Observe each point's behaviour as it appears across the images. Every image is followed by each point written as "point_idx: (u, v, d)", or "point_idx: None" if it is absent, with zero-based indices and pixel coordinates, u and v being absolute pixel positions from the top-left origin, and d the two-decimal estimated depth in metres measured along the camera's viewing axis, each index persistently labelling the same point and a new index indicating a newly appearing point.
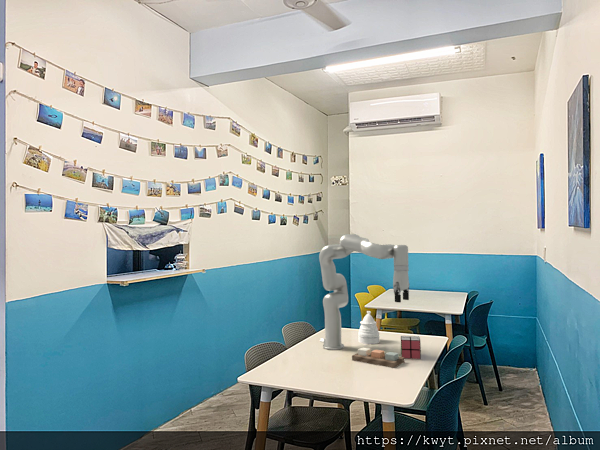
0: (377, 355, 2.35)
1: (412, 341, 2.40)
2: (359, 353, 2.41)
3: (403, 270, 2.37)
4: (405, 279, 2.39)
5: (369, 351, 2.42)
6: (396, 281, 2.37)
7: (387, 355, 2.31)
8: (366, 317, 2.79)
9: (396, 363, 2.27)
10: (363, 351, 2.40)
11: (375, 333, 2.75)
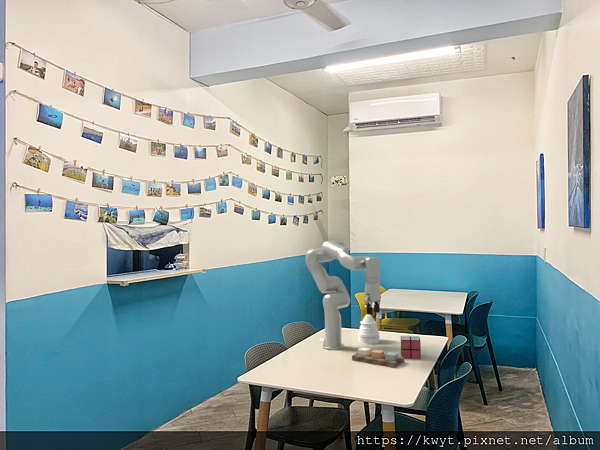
0: (377, 355, 2.35)
1: (412, 341, 2.40)
2: (359, 353, 2.41)
3: (374, 282, 2.41)
4: (376, 290, 2.43)
5: (369, 351, 2.42)
6: (367, 293, 2.41)
7: (387, 355, 2.31)
8: (366, 317, 2.79)
9: (396, 363, 2.27)
10: (363, 351, 2.40)
11: (375, 333, 2.75)
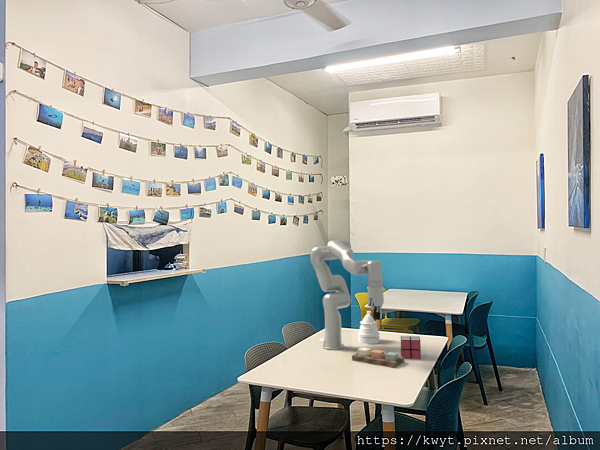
0: (377, 355, 2.35)
1: (412, 341, 2.40)
2: (359, 353, 2.41)
3: (377, 286, 2.36)
4: (379, 295, 2.38)
5: (369, 351, 2.42)
6: (370, 297, 2.36)
7: (387, 355, 2.31)
8: (366, 317, 2.79)
9: (396, 363, 2.27)
10: (363, 351, 2.40)
11: (375, 333, 2.75)
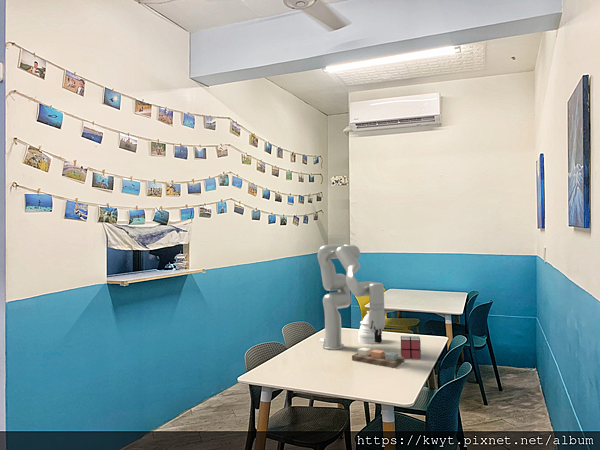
0: (377, 355, 2.35)
1: (412, 341, 2.40)
2: (359, 353, 2.41)
3: (378, 309, 2.34)
4: (381, 318, 2.36)
5: (369, 351, 2.42)
6: (372, 320, 2.34)
7: (387, 355, 2.31)
8: (366, 317, 2.79)
9: (396, 363, 2.27)
10: (363, 351, 2.40)
11: None
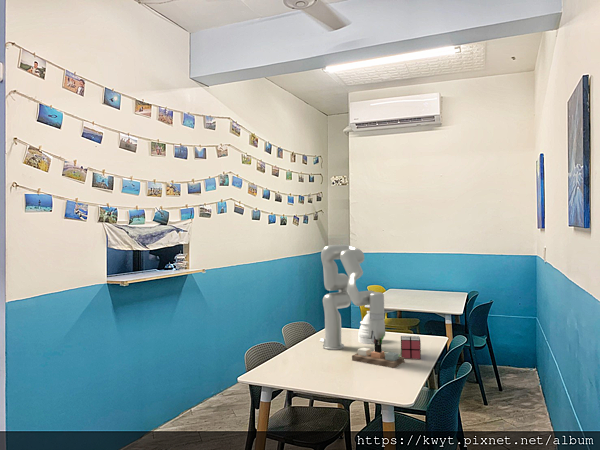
0: (377, 355, 2.35)
1: (412, 341, 2.40)
2: (359, 353, 2.41)
3: (379, 319, 2.34)
4: (381, 327, 2.36)
5: (369, 351, 2.42)
6: (372, 330, 2.34)
7: (387, 355, 2.31)
8: (366, 317, 2.79)
9: (396, 363, 2.27)
10: (363, 351, 2.40)
11: None
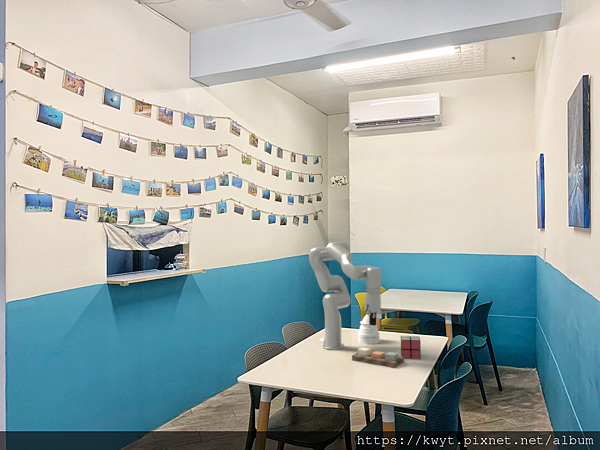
0: (377, 357, 2.35)
1: (412, 341, 2.40)
2: (359, 353, 2.41)
3: (375, 293, 2.39)
4: (377, 301, 2.41)
5: (369, 351, 2.42)
6: (367, 303, 2.40)
7: (387, 355, 2.31)
8: (366, 317, 2.79)
9: (396, 363, 2.27)
10: (363, 351, 2.40)
11: (375, 333, 2.75)
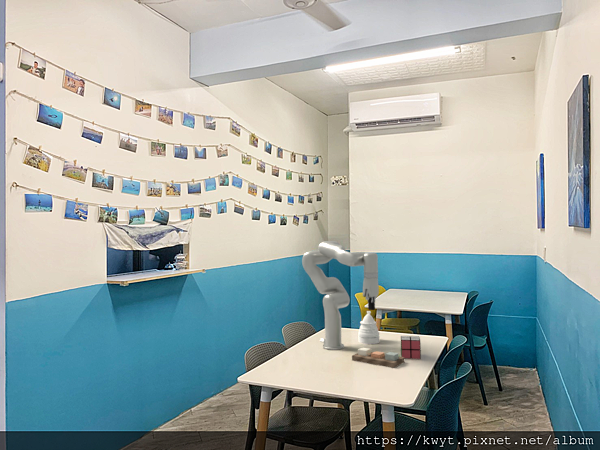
0: (377, 357, 2.35)
1: (412, 341, 2.40)
2: (359, 353, 2.41)
3: (372, 277, 2.44)
4: (374, 286, 2.46)
5: (369, 351, 2.42)
6: (365, 288, 2.44)
7: (387, 355, 2.31)
8: (366, 317, 2.79)
9: (396, 363, 2.27)
10: (363, 351, 2.40)
11: (375, 333, 2.75)
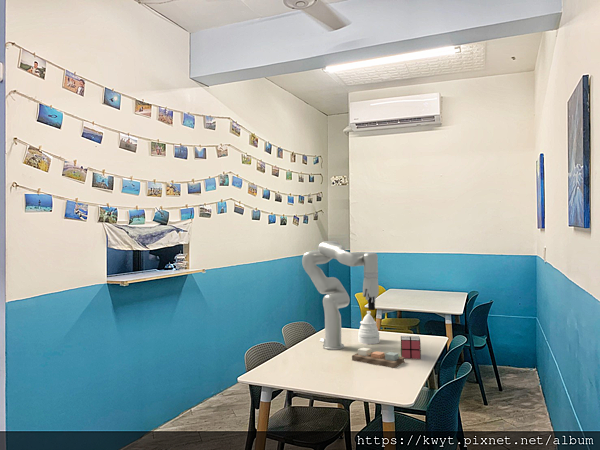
0: (377, 357, 2.35)
1: (412, 341, 2.40)
2: (359, 353, 2.41)
3: (372, 277, 2.44)
4: (374, 286, 2.46)
5: (369, 351, 2.42)
6: (365, 288, 2.44)
7: (387, 355, 2.31)
8: (366, 317, 2.79)
9: (396, 363, 2.27)
10: (363, 351, 2.40)
11: (375, 333, 2.75)
